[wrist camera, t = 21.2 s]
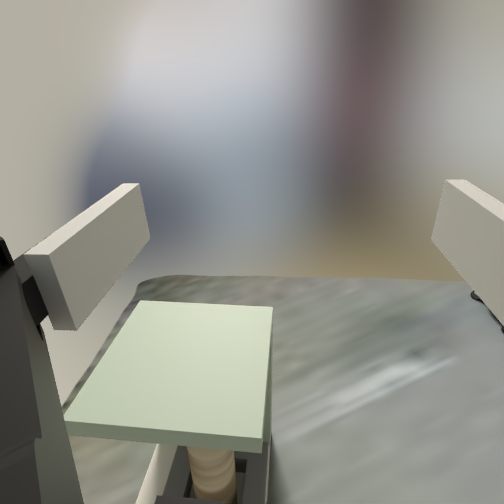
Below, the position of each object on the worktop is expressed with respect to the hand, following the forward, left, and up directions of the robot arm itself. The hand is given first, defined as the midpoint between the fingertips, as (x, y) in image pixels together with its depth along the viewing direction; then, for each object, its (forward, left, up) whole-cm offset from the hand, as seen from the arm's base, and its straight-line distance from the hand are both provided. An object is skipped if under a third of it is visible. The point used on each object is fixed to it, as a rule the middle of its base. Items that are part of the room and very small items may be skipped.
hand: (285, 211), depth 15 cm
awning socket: (+7, +4, -33) cm, 34 cm away
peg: (+6, +3, -32) cm, 33 cm away
